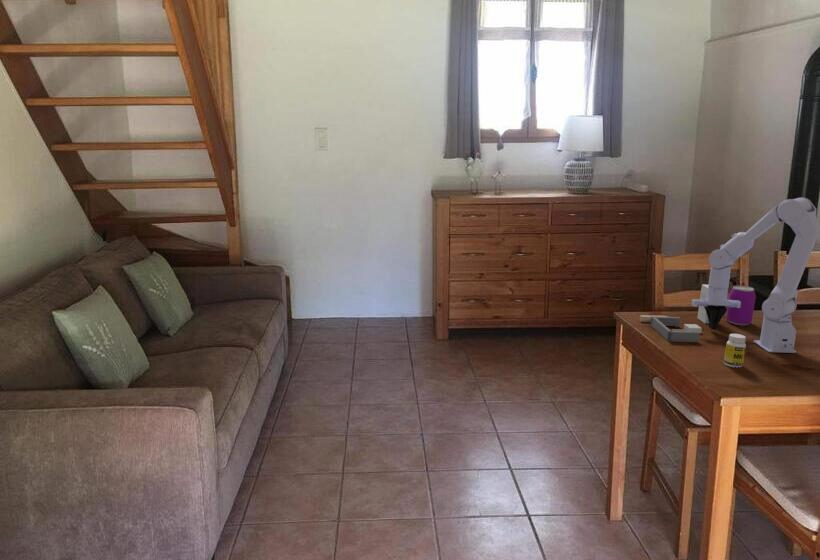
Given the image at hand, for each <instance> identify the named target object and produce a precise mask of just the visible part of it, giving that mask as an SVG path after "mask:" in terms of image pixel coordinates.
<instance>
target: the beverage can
mask: <svg viewBox="0 0 820 560" xmlns="http://www.w3.org/2000/svg"><path fill="white" fill-rule="evenodd" d="M756 298H757V296H756V292H755V288H754V287H751V286H747V285H733V286H732V289H731V290H730V292H729V296H728V300H738V301H740V302H741V306H740V308H736V307H727V308H726V309H727V311H726V316H725V317H726V318H725V320H726V321H727V322H728V323H729V324H731V325H736V326H744V327H745V326H748V325H750V324H752V321H753V317H754V316H753V315H754V310H755V302H756Z"/></svg>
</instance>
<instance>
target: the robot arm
mask: <svg viewBox="0 0 820 560" xmlns="http://www.w3.org/2000/svg"><path fill="white" fill-rule="evenodd" d="M780 223H785V224H787V225H788V226H789V227H790V228H791V230H792V231H793V233H794V234H795V236H794V239H793V242H792V244H791V247H790V249H789V252H788V255H787V258H786V261H785V263H784V265H783V268H782V271H781V273H780V276H779V278H778V281H777V283H776V285H775V287H774V288H773V289H772V291H771V292H770V294H769V296H768V298H767V299H765V300H764V301H763V302H762V305H761V311H762V313H763V318H762V319H763V320H762V325H761V331H760V338H759V340H758V339H757V340H756V339H755V340H753V343H754V344H756V345H757V346H760V347H761V348H762V349H764V350H765V351H766V352H767V353H786V354H787V353H788V354H789V353H790V354H796V353H797V351H796V349H794V348H795V344H796V343H795V342H796V336H797V330H796V327H795V326H794V325H793V324H792V319H793V318H792V313H794V312H795V311H796V309H797V303H798V302H797V297H798V295H799V294H798V291H797V290H798V287H799V284H800V282H801V279H802V276H803V275H804V273H805V272H804V271H805V269H806V266H807V264H808V261H809V259H810V256H811V255H812V252H813V250H814V246H815V244H816V242H817V240H818V237H819V234H820V227H819V222H818V219H817V208H816V206H815V205H814V204H813V203H812V201H811V200H810V199H808V198H806V197H802V196H801V197H796V198H788V199H784V200H783V201H781V202H780V203H779V204H778V205H776V206H774V207H772V208H771V209H770V210H769V211H768V212H767V213H766V214H765V215H764V216H763V217H761V218H760V219H759V220H758V221H757V222H755V223H754V224H753V225H752V226H751V227H750V228H749V229H748V230H747V231H746V232H745V231H739V232H738V233H732V235H731V236H730V237H731V238H730V239H729V240H727V242H726V243H722V244H721V245H719V249H714V250H712V252H711V253H710V254H709V256H708V264H709V265H710V271H709V279H708V284H707V285H708V292H707V298H706V299H700V298H697V299H696V298H695V299H694V298H692V299H691V304H690V305H691V306H692V307H693V308H694V307H695V308H698V307H699V306H704V308H705V310H706V313H707V316H708V320H709V323H708V328H709V329H710V330H717V327H718V325H719V323H720V321H721V319H722V318H723V317H724V316H725V314H727V309H728V307H736V308H740V306H741V302H740V301H738V300H729V299H728V292H729V287H730V286H729V284H730V279H731V278H730V277H731V270H732V266H733V265H734V264H735V263H736V261H737V259H739V258H740V257H741V256H743V255H744V254H745V253H747V252H748V251H749V250H750V249H751V248H753V247H754V246H755V245H754V243H755V240H756V239H757V238H759V237H760V236H761V235H763V234H764V233H765V232H767V231H768V230H770V229H771V228H772V227H774V226H775V225H776V224H780Z"/></svg>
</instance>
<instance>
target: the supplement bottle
mask: <svg viewBox="0 0 820 560" xmlns="http://www.w3.org/2000/svg"><path fill="white" fill-rule="evenodd" d="M746 339H747V337H746V336H745V335H743V334H739V333H730V334H729V336H728V341H726V346H725V352H724V359H723V364H724V365H725V366H728V367H730V368H735V367H736V368H737V369H738V367H739V368H742V367H743V366H744V362H745V361H744V360H745V353H746V347H747V344H746ZM736 368H735V369H736Z"/></svg>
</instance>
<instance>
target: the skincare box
mask: <svg viewBox="0 0 820 560" xmlns="http://www.w3.org/2000/svg"><path fill="white" fill-rule="evenodd" d="M707 292H708V284H704V283H703V284H701V288H700V297H699V299H706V298H707ZM697 312H698V313H697V319H698V320H699V321H701V323H704V324H709V320H708V316H707V313H706V310H705V308H704V306H698V311H697Z"/></svg>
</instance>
